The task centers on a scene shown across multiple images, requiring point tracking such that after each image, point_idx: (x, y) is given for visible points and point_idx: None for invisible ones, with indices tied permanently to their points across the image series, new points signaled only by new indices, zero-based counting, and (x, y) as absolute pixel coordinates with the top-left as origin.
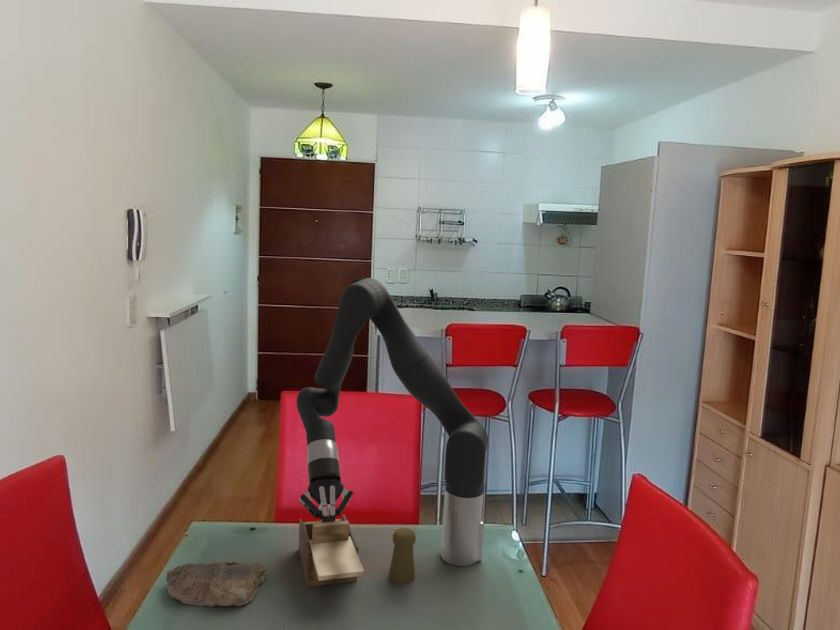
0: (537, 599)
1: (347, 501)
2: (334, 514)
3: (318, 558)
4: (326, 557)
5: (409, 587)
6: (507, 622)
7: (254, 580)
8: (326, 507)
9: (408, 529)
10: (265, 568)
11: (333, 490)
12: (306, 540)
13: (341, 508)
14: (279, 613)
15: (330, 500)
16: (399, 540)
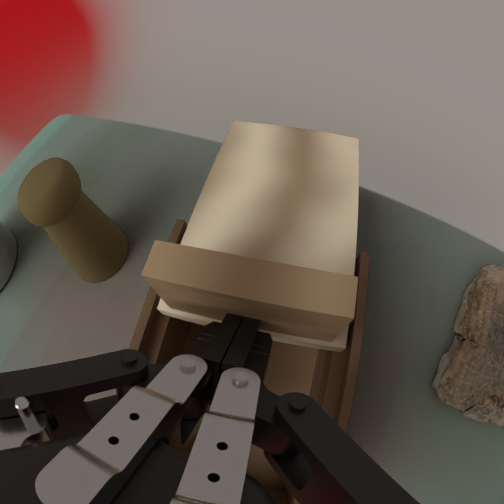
0: (28, 144)
1: (49, 368)
2: (180, 355)
3: (342, 207)
4: (313, 201)
5: (117, 211)
6: (86, 116)
7: (479, 304)
8: (213, 407)
9: (24, 182)
10: (446, 375)
11: (72, 462)
12: (355, 349)
13: (114, 361)
14: (414, 232)
15: (156, 419)
16: (72, 166)
